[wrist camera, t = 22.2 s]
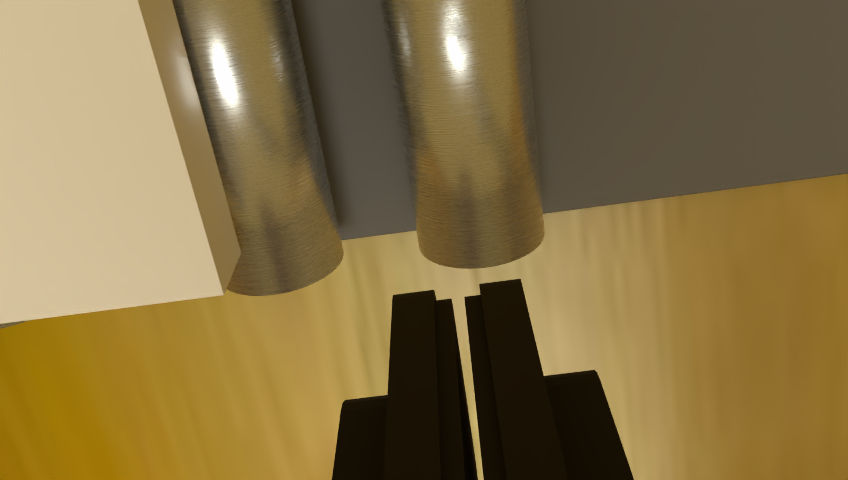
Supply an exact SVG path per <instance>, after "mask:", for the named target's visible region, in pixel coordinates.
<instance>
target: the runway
mask: <svg viewBox="0 0 848 480" xmlns="http://www.w3.org/2000/svg"><path fill="white" fill-rule="evenodd" d="M291 3H292V8H293V13H294V18H295V22H296V27H297V32H298V37H299V41H300V46H301V51H302V56H303V61H304V65H305V70H306V75H307V80H308V84H309V89H310V94H311V99H312V104H313V108H314V113H315V118H316V123H317V127H318V132H319V137H320V142H321V146H322V151H323V156H324V161H325V166H326V170H327V175H328V180H329V185H330V189H331V194H332V199H333V204H334V209H335V213H336V218H337V223H338V228H339V232H340V237H341V240H347V239H354V238H362V237H369V236H377V235H385V234H392V233H400V232H407V231H415V230H416V224H415V217H414V211H413V205H412V199H411V193H410V187H409V180H408V174H407V168H406V162H405V156H404V150H403V143H402V137H401V131H400V125H399V119H398V112H397V106H396V100H395V94H394V88H393V82H392V75H391V69H390V63H389V57H388V51H387V45H386V38H385V32H384V26H383V20H382V14H381V8H380V1H379V0H291ZM525 5H526V17H527V29H528V41H529V53H530V65H531V76H532V88H533V100H534V112H535V124H536V136H537V148H538V160H539V172H540V184H541V196H542V208H543V214H544V213H552V212H559V211H567V210H574V209H582V208H590V207H597V206H605V205H612V204H620V203H628V202H635V201H643V200H650V199H658V198H665V197H673V196H681V195H688V194H696V193H703V192H711V191H719V190H726V189H734V188H741V187H749V186H757V185H764V184H772V183H779V182H787V181H795V180H802V179H810V178H817V177H825V176H832V175H840V174H848V0H525Z"/></svg>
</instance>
